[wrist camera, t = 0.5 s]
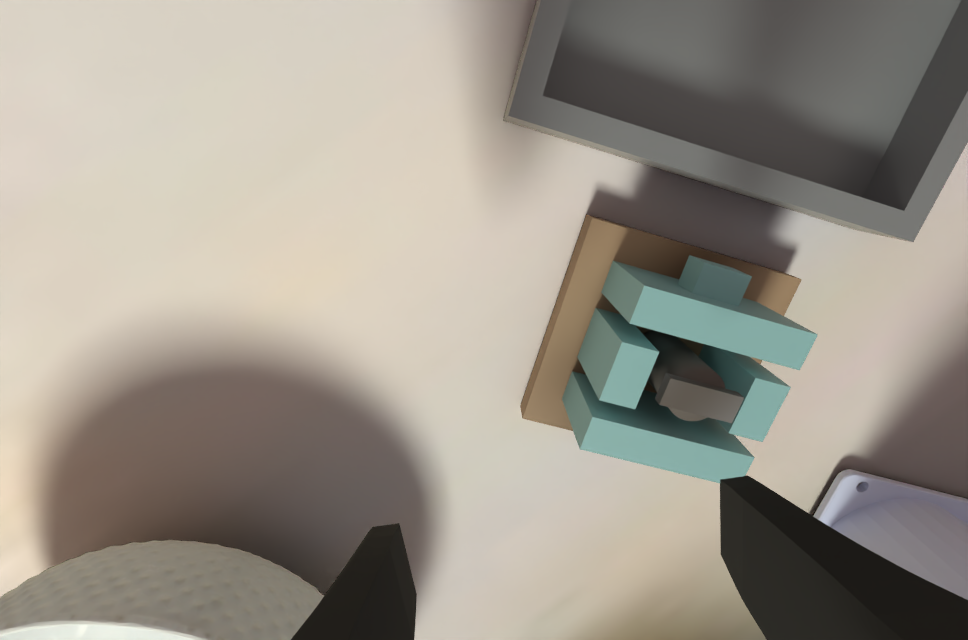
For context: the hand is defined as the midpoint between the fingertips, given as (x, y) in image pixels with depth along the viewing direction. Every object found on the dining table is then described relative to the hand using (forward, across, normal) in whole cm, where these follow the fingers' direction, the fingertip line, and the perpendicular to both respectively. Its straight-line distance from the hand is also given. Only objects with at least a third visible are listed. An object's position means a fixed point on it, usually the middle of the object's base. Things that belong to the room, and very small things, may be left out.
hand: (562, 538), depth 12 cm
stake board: (+10, -5, 0) cm, 11 cm away
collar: (+8, -5, 0) cm, 10 cm away
